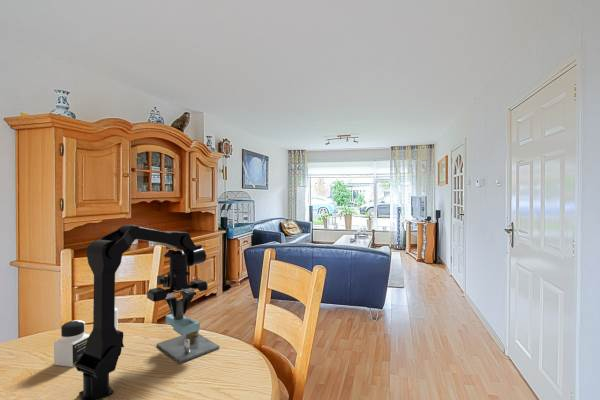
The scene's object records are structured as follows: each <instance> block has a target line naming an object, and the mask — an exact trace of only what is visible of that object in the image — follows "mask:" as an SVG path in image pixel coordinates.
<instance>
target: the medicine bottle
mask: <svg viewBox="0 0 600 400" xmlns="http://www.w3.org/2000/svg"><path fill="white" fill-rule="evenodd" d="M90 334H91V333H86V322H85V321H84V320H80V319H76V320H70V321H67V322H65V323H63V324H62V325H61V338H60V339H57V340H56V341H54V342H53V365H55V366H62V367H67V368H74V367H75V364H76V362H77V361H78V360H79V358H80V357H81V355H82V354H83V353H84V351H85V349H86V344H87V339H88V337H89V335H90Z"/></svg>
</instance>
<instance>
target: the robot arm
mask: <svg viewBox="0 0 600 400" xmlns="http://www.w3.org/2000/svg"><path fill="white" fill-rule="evenodd" d="M190 235H191V234H190V233H189V232H186V231H175V230H173V231H172V230H171V231H170V230H169V231H166V230H165V231H162V230H159V229H158V230H157V229H152V228H147V227H142V226H138V225H136V224H124V225H122V226H119V228H117V229H116V230H114V231H112V232H110V233H107V234H106V235H103V236H102V237H101V238H98V239H96V240H93V241H92V242H90V244H88V245H87V246H86V257H87V264H88V266H89V267H90V269H91V271H92V274H93V318H92V319H93V321H92V322H93V324H92V325H93V326H92V330H91V332H90V333H89V334H90V335H89V337H88V339H87V344H86V349H85V351H84V353H83V354H82V355H81V357H80V358H79V360H78V361H77V362H76V364H75V366H74V367H75V369H76V371H77V372H81V373H82V389H83V390H81V391H79V392H78V395H79V397H80V399H81V400H102V399H104V398H106V397H109V396H111V395H113V394H114V393H115V392H114V390H113V388H112V387H111V385H110V373H112V372H113V371H115V370H116V367H117V364H118V360H119V357H120V356H121V353H122V350H123V348H124V347H125V345H124V332H123V331H121V330H119V329H118V330H116V329H115V325H114V323H115V307H116V303H115V302H116V300H115V299H116V296H115V295H116V273H117V270H118V269H119V267H120V266H121V264H122V259H123V254H124V253H126V252H127V251H128V250H129V249H130V248H131V246H132V245H133V243H134V241H136V240H138V241H145V242H151V243H157V244H161V245H162V246H164V247H167V248H169V249H168V250H167V252H165V253H164V255H163V257H164V258H168V259H169V271H167V276H165V275H164V274H160V275H157V276H156V284H157V286H160V287H154V288H150V289H148V291H147V292H146V298H147V299H148V300H150V301H152V302H153V303H155V302H156V303H157V302H160V301H166V303H167V305H168V308H169V311H170V312H171V313H170V314H172V316H173V317H175V315H176V299H177V297H175V294H178V293H180V294H181V299H183V300H184V305H183V315H185V314H186V312H187V310H188V308H189V306H190V304H191V302H192V300H193V298H194V296H196V295H197V292H196V290H197V291H198V292H204V291H208V289H209V288H208V282H207V281H205V280H203V279H195V280H190V281H189V283H188V280H189V279H188V277H189V276H190V274H191V273H190V271H189V270H188V268H189V267H192V266H197V265H200V264H203V263H204V262H205V261H206V259H207V254H206V251H205V250H204V248H203V246H202V244H195V242H194V241H193V239H192V238H191V236H190ZM161 286H162V287H161ZM165 288H166V289H165Z"/></svg>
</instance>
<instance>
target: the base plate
mask: <svg viewBox="0 0 600 400" xmlns="http://www.w3.org/2000/svg"><path fill="white" fill-rule="evenodd" d="M199 331H200V330H198V331H195V332H192V333H189V334H186V335H183V336H182V335H179V336H175V337H173V338H170V339H166V340H164V341H160V342H158V343H156V347H157V348H159V350H161V351H162V352H164V353H165V354H166V355H168V357H170V358H171V359H172V360H174V361H175V362H177V363H178V364H181V365H182V364H183V363H185V362H188V361H190V360H193V359H195V358H199V357H201V356H203V355H207V354H209V353H211V352H213V351H216V350H219V349H220V345H219V344H217V343H215V342H213V341H212V340H210V339H208V338H207V337H205V336H203V335H202V334H200V333H199ZM186 339H190V352H189V353H185V340H186Z"/></svg>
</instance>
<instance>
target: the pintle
mask: <svg viewBox="0 0 600 400" xmlns="http://www.w3.org/2000/svg"><path fill="white" fill-rule="evenodd" d="M189 352H190V339H186V340H185V353H189Z"/></svg>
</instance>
